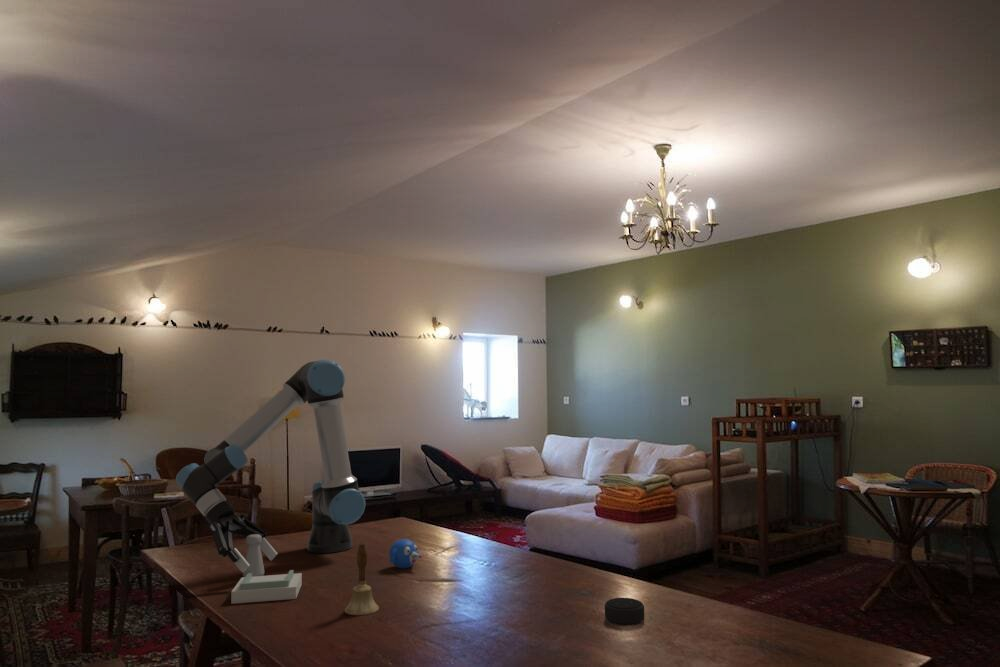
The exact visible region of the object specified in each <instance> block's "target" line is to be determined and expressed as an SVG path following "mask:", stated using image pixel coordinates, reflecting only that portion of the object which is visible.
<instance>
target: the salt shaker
mask: <svg viewBox="0 0 1000 667" xmlns="http://www.w3.org/2000/svg"><path fill="white" fill-rule="evenodd" d="M245 537H246V536H245ZM261 542H262V536H261V535H258V534H253V535H249V536H247V537H246V538H245V543H246V545H248V547H247V551H246V555H245V556H246V557H245V560H246V561H247V562H248V563H249V565H250V566H249V567H248V568H247V569H246V570H245V571H244V572H243V573H242V576H243V577H246V575H247V574H248V573H252V577H254V576H265V566H264V561H263V560H264V559H263V554H262V550H261V548H260V543H261Z"/></svg>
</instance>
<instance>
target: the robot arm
mask: <svg viewBox="0 0 1000 667" xmlns="http://www.w3.org/2000/svg"><path fill="white" fill-rule="evenodd" d="M345 382H346V375H345V372H344V370H343V368H342V367H341V366H340V365H339V364H338V363H336V362H335V361H333V360H329V359H319V360H316V361H310V362H307V363H305V364H303V365H302V366H301V367H300V368H299V369H298V370H297V371H296V372H295V373H294V374H293V375H292V376H291V377H290V378H289V379H287V380H286V381H285V382H284V383H283V384H282V389H281V390H279V392H277V393H276V394H275V395H274V396H273V397H272V398H270V400H268V401H267V402H265V403H264V405H262V406H261V407H260V408H259V409H258V410H256V411H255V412H254V413H253V414H252V415H251V416H249V418H247V419H246V420H245V421H244V422H243V423H241V425H240V426H238V427H237V428H236V429H235V430H234V431H233V432H231V433H230V434H229V435H228V436H227V437H226V438H225V439H223V440H222V441H221V442H220V443H219V444H217V445H216V446H215V447H212V448H210V449H209V450H207V451H206V453H205V455H204V458H203V460H204V463H203V464H201V465H199V464H198V463H195V462H194V463H193V462H192V463H190V464H188V465H186V466H184V467H182V468H181V469H180V470H179V471H178V473H177V474H176V476H175V482H176V483H177V484H178V486H179V487H180V489H181V491H183V493H184V494H185V496H186V497H187V498H188V499H189V500H190V502H192V504H193V505H194V506H195V507H196V508H197V509H198V511H199V512H200V513H201V514H202V515H203V517H205V519H206V521H207V522H208V523H209V525H210V526H209V527H208V530H209V531H210V533H211V535H212V538H213V541H214V544H215V547H216V550H217V554H218V555H219V556H221V555H222V557H224V558H226V557H228V558H229V559H230V560H231V562H232V563H234V564H235V566H236V567H237V569H239V570H240V572H241V573H242V574H243V572H244V571H245V570H246V569H247V568H248V567H249V566H250V565H249V563H248V562H247V561H246V557H244V556H243V555H242V554H241V552H240V551H239V550H238V549H237V548H236V547H235V548H234V546H233V535H235V534H236V535H243V536H244V537H247V536H249V535H253V534H258V535H261V536H262V542H261V543H260V549H261V552H263V553H264V555H265V556H266V557H267V558H268V559H269V560H270V561H272V560H274V559H275V558H276V556H277V555H278V554H279V553H278V552H277V551H276V550H275V548H274V547H273V546H272V544H271V543H270V542H269V541H268V539H266V537H267V535H268V532H267V531H266V530H264V529H263V528H262V527H260V526H259V525H257V524H256V523H254V521H251V520H250V519H249V518H247V516H246V515H245V514H243V513H241V514H240V515H239V516H236V515H235V507H234V506H233V505H232V504H231V503H230V501H228V500H227V498H226V496H225V495H224V494H223V492H221V491H220V489H218V487H217V486H218V485H220V483H222V482H223V481H225V480H226V479H227V478H229V477H230V476H231V475H233V474H234V473H235V472H238V470H241V469H242V467H244V466H245V465H246V464H247V463H248V461H249V460H248V457H247V455H246V454H245V453H246V452H247V451H248V450H249V449H250V448H251V447H253V446H254V445H255V444H256V443H257V442H258V441H259V440H261V439H262V438H263V437H264V436H265V435H267V433H268V432H269V431H271V429H274V427H276V425H278V423H280V422H281V421H282V420H283V419H284V418H285V417H287V415H288V414H290V413H291V412H292V411H293V410H294V409H295V408H296V407H297V406H303V405H304V404H305V403H307V405H309V406H310V407H311V408H313V412H314V413H313V414H314V417H315V418H314V419H315V424H316V425H315V426H316V431H317V436H318V444H319V450H320V458H321V462H322V468H323V474H324V481H317V482H314V483H313V484H312V490H311V494H312V497H311V498H312V501H311V502H312V504H311V505H312V506H311V507H312V508H311V509H312V511H311V512H312V528H311V530H310V534H309V537H308V540H307V544H306V550H307V551H308V552H311V553H315V554H316V553H317V554H328V553H329V554H330V553H337V552H344V551H347V550H350V549H351V548H353V539H352V538H353V537H352V535H351V531H350V529H349V527H348V526H349V525H351V524H354V523H356V522H357V521H359V519H360V518H361V517H362V515H363V514H364V512H365V508H366V498H365V497H364V495H363V493H362V492H361V491H360V489H359V482H358V478H357V477H355V476H354V475H353V473H352V468H351V463H350V456H349V450H348V444H347V438H346V432H345V431H346V430H345V426H344V419H343V414H342V408H341V403H342V401H343V400H344V392H343V388H344V386H345Z"/></svg>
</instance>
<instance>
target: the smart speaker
mask: <svg viewBox="0 0 1000 667" xmlns="http://www.w3.org/2000/svg"><path fill="white" fill-rule="evenodd" d="M604 617H605V620H607V621H608V622H609V623H611V624H614V625H618V626H636V625H638V624H642V622H643V621H644V620H645V617H646V616H645V605H644V604H643V602H642V601H640V600H639V599H634V598H632V597H631V598H630V597H615V598H610V599H608V600H607V601H606V602H605V603H604Z"/></svg>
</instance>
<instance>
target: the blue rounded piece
mask: <svg viewBox="0 0 1000 667" xmlns="http://www.w3.org/2000/svg"><path fill="white" fill-rule="evenodd" d="M389 548H390V549H389V552H388V554H389V563H391V564H392V565H393V566H395V567H396V568H398V569H407V568H410V567H412V566H413V565H414V564H415V563H416V562H417V561H418V560H419V559H422V558H423V555H422V554H420V553H419V548H418V546H417V545H416V543H415V542H414V541H412V540H411V539H407V538H402V539H398V540H396V541H394V543H392V545H391V546H390V547H389Z"/></svg>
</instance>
